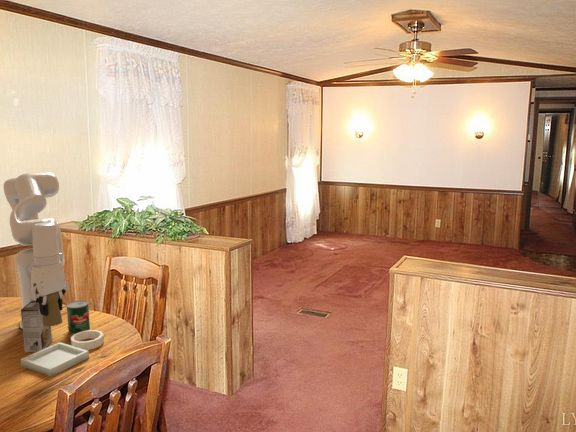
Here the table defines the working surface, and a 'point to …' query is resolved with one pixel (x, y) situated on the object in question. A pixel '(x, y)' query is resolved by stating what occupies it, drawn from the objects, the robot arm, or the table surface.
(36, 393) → the table surface
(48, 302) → the cork
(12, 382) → the table surface
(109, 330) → the table surface
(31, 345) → the coffee box
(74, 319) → the canned tomato
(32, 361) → the tray
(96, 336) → the collar
